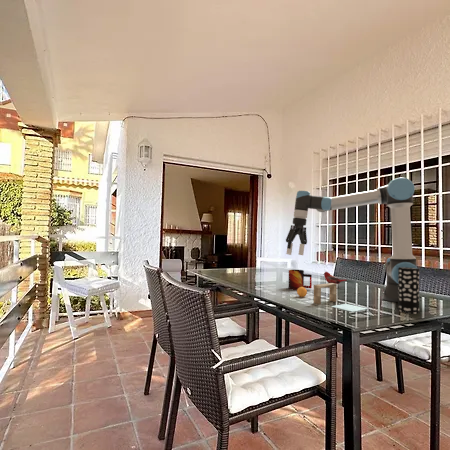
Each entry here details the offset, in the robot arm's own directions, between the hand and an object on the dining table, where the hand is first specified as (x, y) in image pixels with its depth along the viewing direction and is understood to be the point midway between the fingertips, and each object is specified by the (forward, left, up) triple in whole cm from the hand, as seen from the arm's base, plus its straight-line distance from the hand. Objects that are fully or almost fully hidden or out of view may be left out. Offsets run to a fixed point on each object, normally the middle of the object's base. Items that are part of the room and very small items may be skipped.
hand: (294, 254), depth 174 cm
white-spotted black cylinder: (-52, -21, -24) cm, 61 cm away
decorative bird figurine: (+9, -48, -24) cm, 55 cm away
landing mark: (-34, -2, -23) cm, 41 cm away
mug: (+16, -21, -24) cm, 36 cm away
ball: (-4, -2, -21) cm, 21 cm away
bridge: (-20, -2, -23) cm, 31 cm away
